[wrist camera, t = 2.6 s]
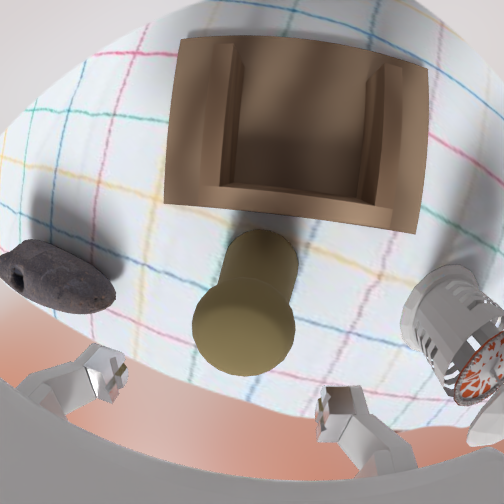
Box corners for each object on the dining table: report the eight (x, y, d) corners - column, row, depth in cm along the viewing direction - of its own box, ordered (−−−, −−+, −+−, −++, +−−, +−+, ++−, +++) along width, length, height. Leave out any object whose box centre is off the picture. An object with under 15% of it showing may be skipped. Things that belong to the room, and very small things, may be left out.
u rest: (422, 72, 16) (453, 52, 11) (410, 231, 20) (442, 250, 15) (185, 43, 18) (158, 16, 12) (168, 202, 22) (135, 213, 17)
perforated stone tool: (130, 266, 24) (86, 298, 18) (126, 312, 26) (89, 349, 19) (33, 226, 25) (-10, 241, 18) (34, 266, 26) (-5, 286, 20)
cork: (219, 231, 22) (162, 289, 12) (296, 227, 21) (304, 285, 11) (228, 300, 24) (189, 389, 13) (299, 298, 23) (304, 393, 12)
